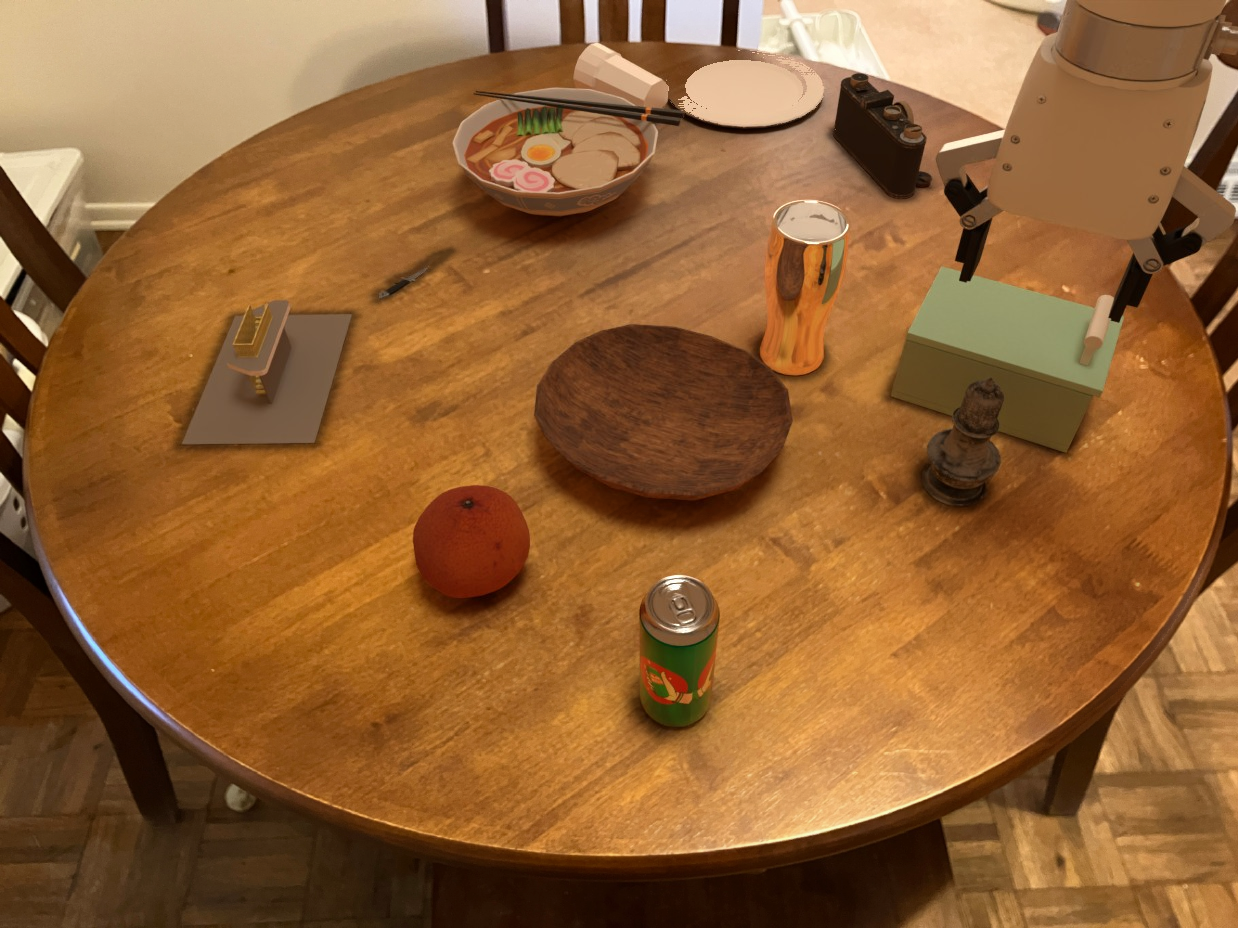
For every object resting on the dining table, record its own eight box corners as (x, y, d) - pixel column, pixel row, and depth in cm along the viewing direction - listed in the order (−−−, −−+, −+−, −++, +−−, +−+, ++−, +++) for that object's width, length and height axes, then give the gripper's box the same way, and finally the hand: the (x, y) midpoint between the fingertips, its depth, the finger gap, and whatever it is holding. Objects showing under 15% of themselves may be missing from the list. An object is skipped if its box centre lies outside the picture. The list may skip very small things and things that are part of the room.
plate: (850, 86, 129) (852, 73, 128) (773, 154, 118) (775, 141, 117) (717, 47, 137) (718, 36, 136) (633, 108, 126) (633, 96, 125)
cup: (634, 100, 118) (568, 68, 122) (644, 137, 124) (581, 105, 128) (667, 62, 119) (600, 31, 123) (676, 101, 125) (612, 70, 129)
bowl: (727, 569, 76) (732, 530, 72) (495, 471, 84) (489, 431, 80) (819, 414, 88) (827, 373, 84) (608, 339, 95) (606, 299, 91)
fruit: (504, 509, 81) (493, 443, 75) (550, 586, 75) (542, 521, 69) (403, 550, 78) (384, 485, 72) (444, 633, 73) (426, 570, 67)
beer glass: (795, 390, 90) (817, 255, 78) (739, 353, 93) (753, 220, 82) (842, 355, 93) (870, 221, 82) (787, 321, 96) (806, 189, 85)
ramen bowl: (418, 231, 108) (405, 165, 102) (499, 131, 122) (491, 68, 116) (632, 271, 102) (631, 204, 96) (690, 161, 117) (692, 96, 111)
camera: (941, 191, 111) (958, 126, 105) (889, 202, 110) (903, 137, 104) (873, 123, 122) (884, 60, 116) (825, 132, 121) (834, 70, 115)
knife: (447, 252, 106) (446, 248, 105) (458, 258, 105) (457, 254, 104) (372, 296, 101) (371, 292, 100) (382, 302, 100) (381, 298, 100)
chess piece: (960, 520, 79) (1000, 417, 70) (903, 479, 82) (934, 375, 73) (1004, 485, 81) (1048, 380, 72) (947, 446, 84) (982, 341, 76)
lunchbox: (1088, 378, 90) (1115, 321, 85) (1066, 453, 84) (1093, 396, 79) (923, 329, 95) (939, 273, 90) (890, 396, 89) (905, 340, 84)
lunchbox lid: (1121, 322, 85) (1138, 286, 82) (1099, 398, 78) (1117, 361, 75) (939, 272, 90) (949, 236, 87) (905, 339, 84) (915, 303, 81)
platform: (181, 444, 86) (153, 391, 82) (235, 315, 98) (214, 262, 94) (314, 442, 86) (295, 389, 81) (352, 314, 98) (337, 260, 93)
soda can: (693, 657, 71) (700, 559, 62) (722, 716, 68) (734, 622, 59) (629, 680, 70) (626, 584, 61) (656, 741, 67) (658, 648, 58)
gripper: (1315, 35, 52) (1187, 294, 64) (988, -16, 58) (929, 230, 70) (1307, 95, 47) (1171, 361, 60) (954, 33, 53) (898, 286, 66)
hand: (1041, 290), depth 65 cm, fingers open, 9 cm apart
